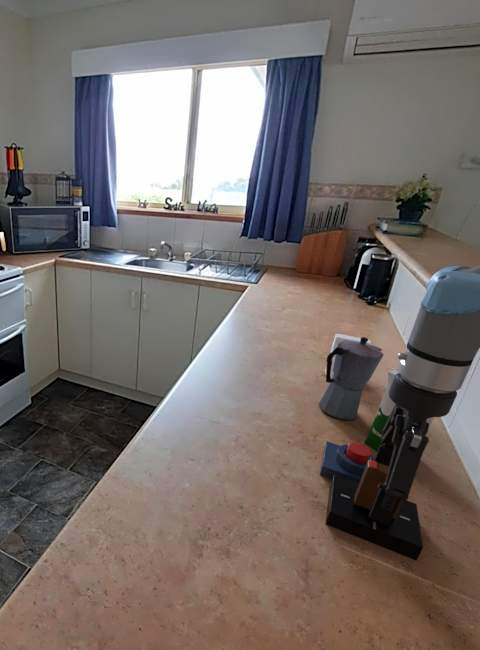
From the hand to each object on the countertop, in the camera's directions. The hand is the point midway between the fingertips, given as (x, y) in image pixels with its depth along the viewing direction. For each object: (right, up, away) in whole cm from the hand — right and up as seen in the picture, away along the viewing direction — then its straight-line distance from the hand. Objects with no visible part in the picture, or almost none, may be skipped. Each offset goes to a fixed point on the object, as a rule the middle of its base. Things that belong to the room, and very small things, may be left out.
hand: (378, 497), depth 66 cm
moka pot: (+10, +8, +33) cm, 36 cm away
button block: (+3, 0, +13) cm, 13 cm away
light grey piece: (+21, +16, +51) cm, 57 cm away
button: (+3, +3, +12) cm, 12 cm away
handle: (0, -2, +1) cm, 2 cm away
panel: (0, -5, +2) cm, 5 cm away
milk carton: (+15, +2, +20) cm, 25 cm away
